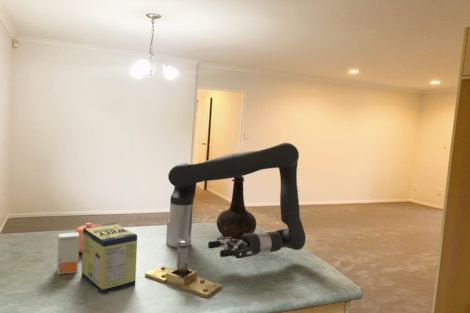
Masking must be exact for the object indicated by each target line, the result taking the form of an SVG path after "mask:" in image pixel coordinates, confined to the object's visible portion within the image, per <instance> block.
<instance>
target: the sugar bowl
mask: <svg viewBox="0 0 470 313" xmlns="http://www.w3.org/2000/svg"><path fill="white" fill-rule="evenodd" d="M100 225H101V224H93V223H92V222H86V223H85V225H80V226H79V227H77V228H76V229H75V231H74V233H76V232H78V233H79V254H82V252H83V228H86V227H93V226H100Z"/></svg>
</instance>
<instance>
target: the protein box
mask: <svg viewBox="0 0 470 313" xmlns="http://www.w3.org/2000/svg"><path fill="white" fill-rule="evenodd" d="M99 225H100V226H97V225H96V226H93V227H86V228H83V252H82V253H81V254H82V256H81V258H82V261H81V277H82V278H83V279H84V280H85V281H86V282H88V284H89V285H91V287H93V288H94V289H95V290H97V291H98V292H99V293H100V294H101V295H105V294H108V293H111V292H115V291H119V290H123V289H126V288H130V287H133V286H136V277H137V276H136V274H137V250H138V249H137V247H138V235H137V234H136V233H134V232H132V231H130V230H128V229H126V228H124V227H123V226H120V225H119V224H117V223H115V222H114V223H110V224H109V223H108V224H99Z"/></svg>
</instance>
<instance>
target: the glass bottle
mask: <svg viewBox="0 0 470 313" xmlns="http://www.w3.org/2000/svg"><path fill="white" fill-rule="evenodd" d="M244 178H245V177H244V176H240V177H234V178H232V180H231V181H232V182H233V187H232V194H231V201H230V206H229V208H228V209H226V210H224V211H222V212H221V213H220V214H219V215H218V216H217V219H216V228H217V230H218V231H219V233H220V234H221V236H222V237H233V239H238V240H239V239H240V237H241V236H242V235H243V234H250V233H255V231H256V229H257V220H256V217H255V216H254V214H253V213H251V212H249V211H248V210H247V208H246V205H245V198H244V182H245V179H244Z"/></svg>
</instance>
